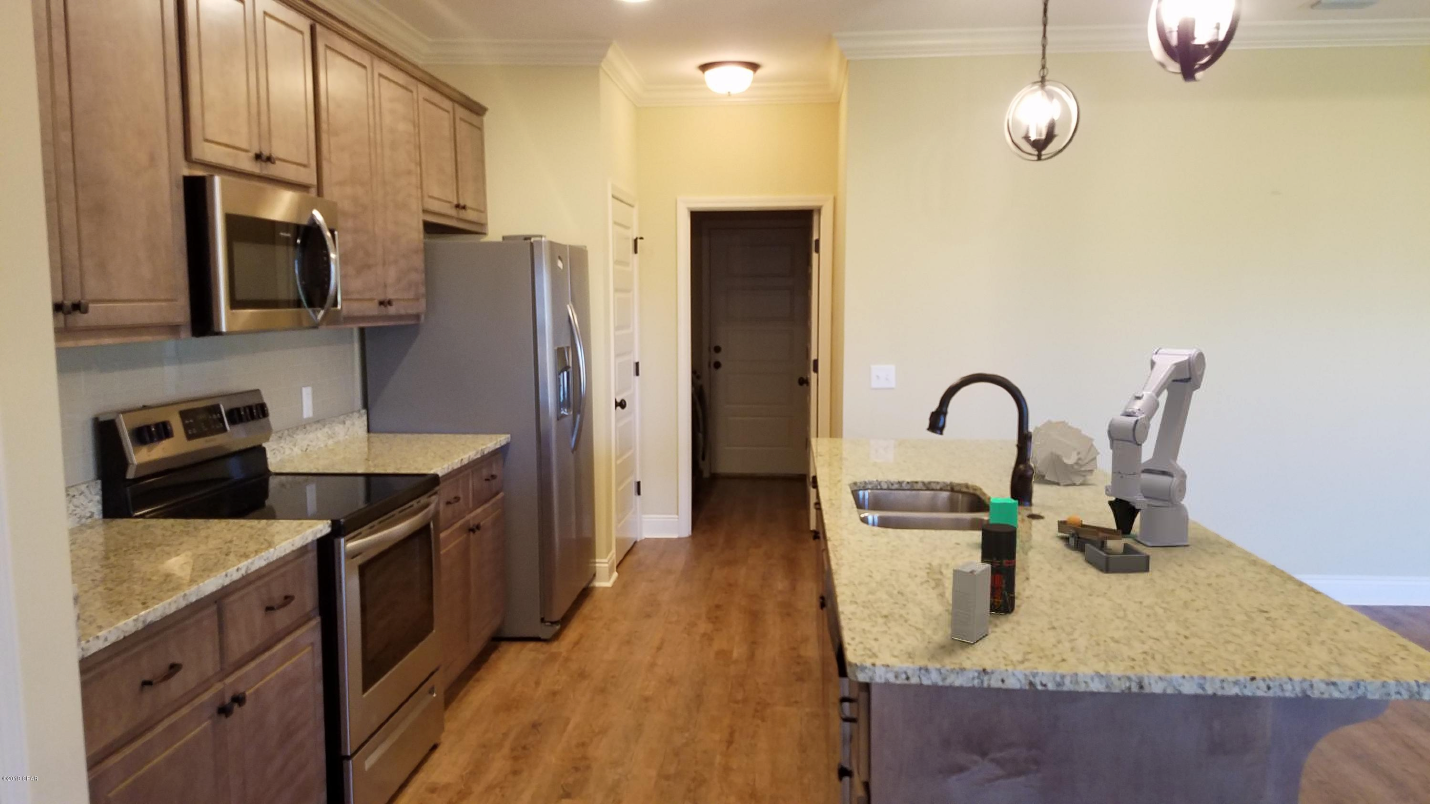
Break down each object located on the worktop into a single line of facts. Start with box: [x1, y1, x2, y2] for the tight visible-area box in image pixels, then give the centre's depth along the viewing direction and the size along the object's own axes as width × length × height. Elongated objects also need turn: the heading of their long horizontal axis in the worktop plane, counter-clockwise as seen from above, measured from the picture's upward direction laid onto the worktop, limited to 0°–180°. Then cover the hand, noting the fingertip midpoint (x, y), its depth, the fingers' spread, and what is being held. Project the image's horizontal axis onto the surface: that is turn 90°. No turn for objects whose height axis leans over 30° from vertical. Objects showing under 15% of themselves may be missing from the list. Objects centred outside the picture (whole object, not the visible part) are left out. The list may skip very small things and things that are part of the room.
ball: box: [1066, 515, 1082, 527], centre depth 207 cm, size 3×3×3 cm
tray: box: [1084, 542, 1151, 573], centre depth 186 cm, size 9×10×3 cm
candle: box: [989, 497, 1019, 548], centre depth 202 cm, size 6×6×12 cm
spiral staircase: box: [1030, 419, 1101, 487], centre depth 271 cm, size 18×18×25 cm
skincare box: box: [950, 560, 991, 644], centre depth 148 cm, size 6×4×12 cm
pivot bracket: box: [1064, 530, 1113, 552], centre depth 200 cm, size 9×4×4 cm, turn 92°
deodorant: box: [980, 522, 1018, 614], centre depth 161 cm, size 6×6×15 cm
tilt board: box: [1057, 519, 1139, 541], centre depth 200 cm, size 10×20×3 cm, turn 2°
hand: (1123, 534), depth 193 cm, fingers closed, pressing on tilt board
